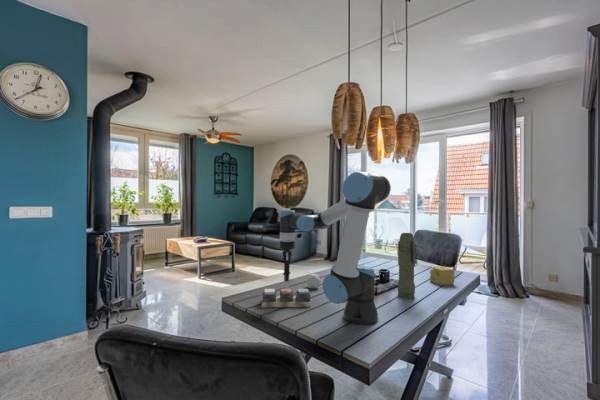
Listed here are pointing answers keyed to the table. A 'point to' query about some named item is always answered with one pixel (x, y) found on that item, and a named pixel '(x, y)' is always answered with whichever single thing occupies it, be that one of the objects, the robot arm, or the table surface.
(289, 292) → the button terracotta
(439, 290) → the table surface
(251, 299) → the table surface
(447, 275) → the cheese
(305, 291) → the button slate
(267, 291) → the button cream
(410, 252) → the thermos
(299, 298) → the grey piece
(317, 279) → the grey rounded lump
